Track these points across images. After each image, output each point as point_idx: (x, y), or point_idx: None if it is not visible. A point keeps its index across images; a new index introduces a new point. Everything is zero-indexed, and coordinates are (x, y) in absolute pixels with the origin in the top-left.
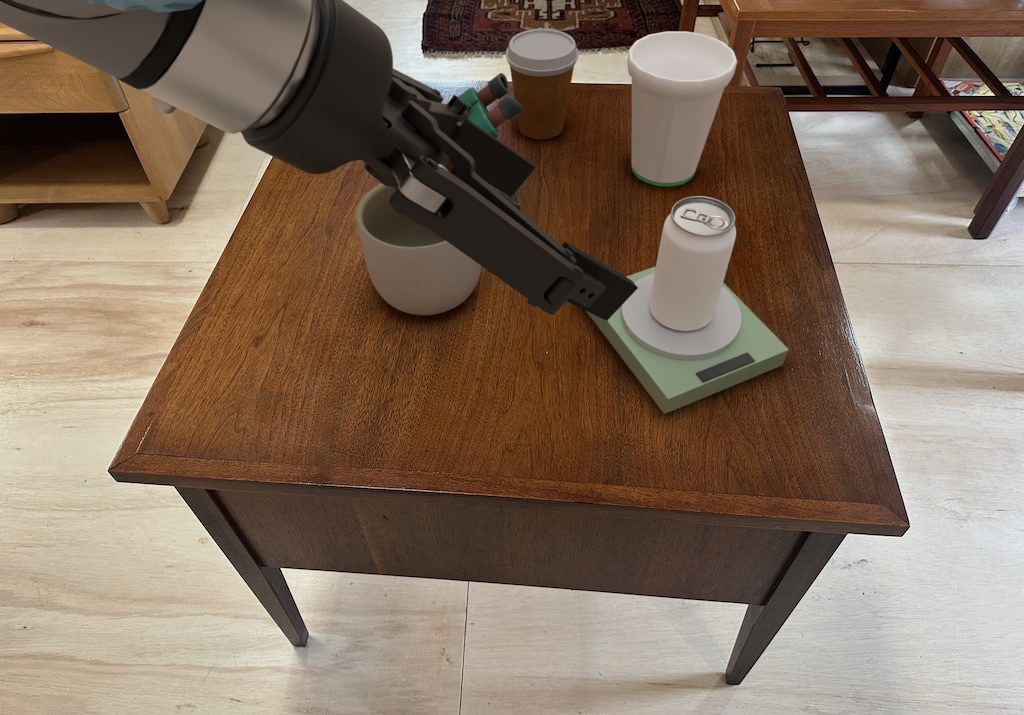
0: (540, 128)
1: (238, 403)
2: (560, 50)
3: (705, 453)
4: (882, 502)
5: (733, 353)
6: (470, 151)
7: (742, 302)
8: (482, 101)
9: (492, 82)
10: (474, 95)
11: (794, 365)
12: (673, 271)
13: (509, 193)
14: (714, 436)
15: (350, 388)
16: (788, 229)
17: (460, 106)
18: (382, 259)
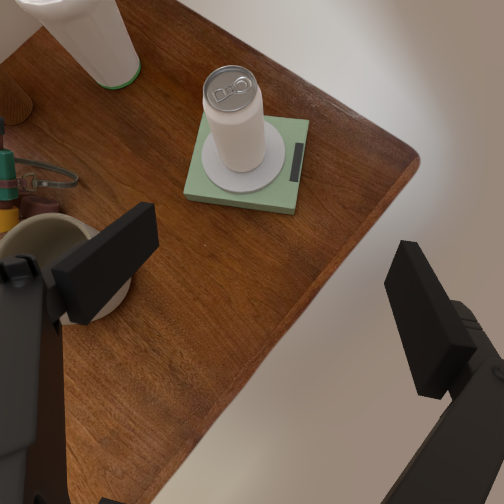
0: (18, 111)
1: (99, 465)
2: None
3: (331, 214)
4: (414, 155)
5: (290, 150)
6: (99, 282)
7: None
8: None
9: None
10: None
11: (311, 124)
12: (240, 141)
13: (156, 246)
14: (325, 201)
15: (142, 382)
16: (221, 46)
17: (23, 268)
18: (67, 320)
